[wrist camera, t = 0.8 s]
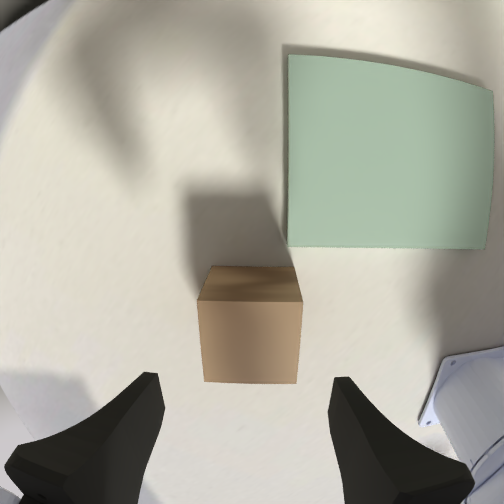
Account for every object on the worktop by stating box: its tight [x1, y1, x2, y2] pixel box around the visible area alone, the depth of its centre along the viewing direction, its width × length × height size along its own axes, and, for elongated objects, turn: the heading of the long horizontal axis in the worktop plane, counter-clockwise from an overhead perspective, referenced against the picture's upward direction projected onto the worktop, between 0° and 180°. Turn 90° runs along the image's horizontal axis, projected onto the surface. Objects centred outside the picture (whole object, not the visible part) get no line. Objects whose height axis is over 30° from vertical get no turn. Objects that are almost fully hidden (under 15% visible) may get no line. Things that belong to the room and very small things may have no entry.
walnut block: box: [197, 266, 303, 384], centre depth 18 cm, size 5×5×5 cm
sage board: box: [287, 54, 494, 249], centre depth 17 cm, size 14×11×1 cm
